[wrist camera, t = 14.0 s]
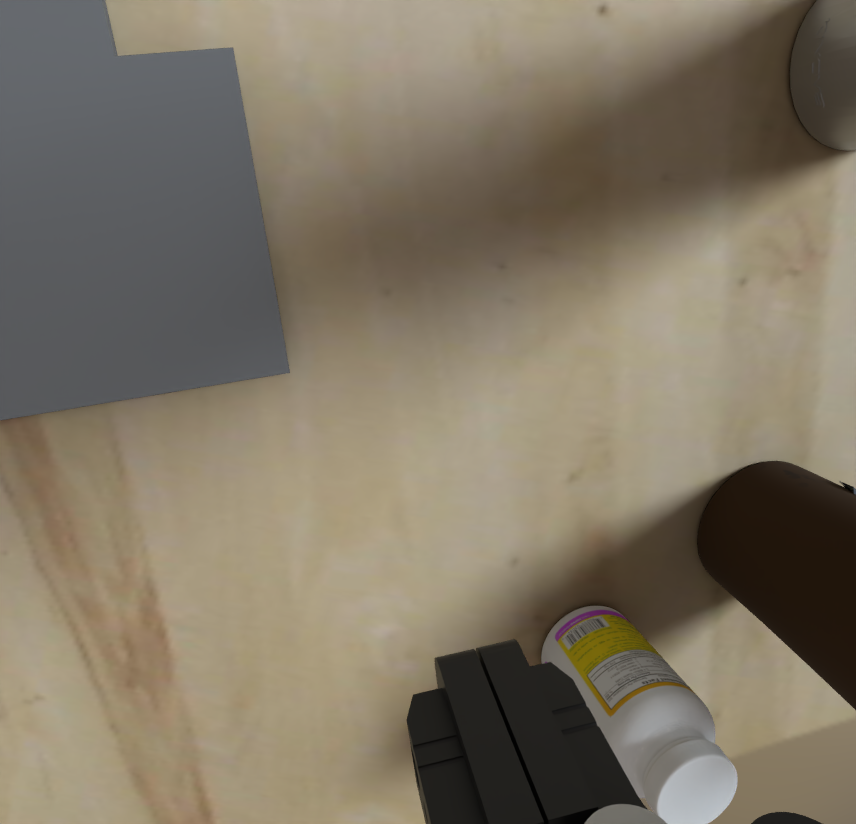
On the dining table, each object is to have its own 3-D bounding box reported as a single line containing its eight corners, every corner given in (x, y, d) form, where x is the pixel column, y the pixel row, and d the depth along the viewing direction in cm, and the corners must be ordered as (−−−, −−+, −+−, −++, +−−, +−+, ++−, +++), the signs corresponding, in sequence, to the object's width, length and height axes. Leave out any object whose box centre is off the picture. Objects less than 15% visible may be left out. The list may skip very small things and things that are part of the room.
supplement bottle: (603, 694, 50) (717, 855, 38) (522, 677, 47) (615, 841, 36) (645, 612, 48) (777, 751, 36) (563, 590, 46) (675, 730, 34)
